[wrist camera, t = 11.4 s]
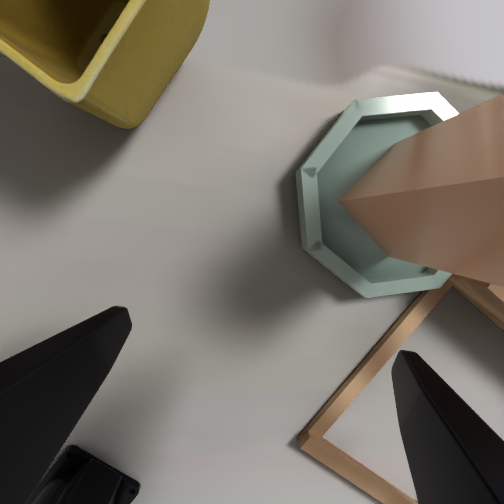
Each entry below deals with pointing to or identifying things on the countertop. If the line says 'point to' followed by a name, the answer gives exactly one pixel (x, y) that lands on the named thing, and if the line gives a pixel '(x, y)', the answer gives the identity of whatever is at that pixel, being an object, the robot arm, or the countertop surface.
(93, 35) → the flower pot
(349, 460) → the brown flat frame
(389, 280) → the saucer
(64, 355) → the robot arm
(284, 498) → the countertop surface
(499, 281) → the long pot
